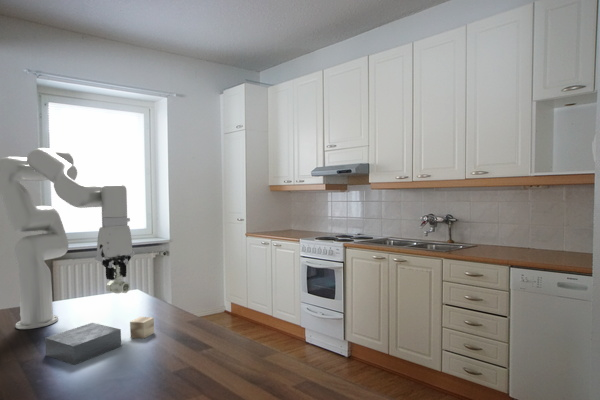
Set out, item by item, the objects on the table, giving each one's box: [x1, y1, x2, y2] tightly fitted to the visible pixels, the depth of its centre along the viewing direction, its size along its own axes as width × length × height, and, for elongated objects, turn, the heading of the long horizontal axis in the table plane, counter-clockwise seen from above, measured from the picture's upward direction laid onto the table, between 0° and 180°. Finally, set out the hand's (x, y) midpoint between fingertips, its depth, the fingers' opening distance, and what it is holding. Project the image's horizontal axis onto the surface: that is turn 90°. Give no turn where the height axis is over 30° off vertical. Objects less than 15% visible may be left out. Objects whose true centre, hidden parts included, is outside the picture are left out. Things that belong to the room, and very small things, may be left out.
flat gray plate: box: [44, 322, 122, 366], centre depth 113 cm, size 14×14×5 cm
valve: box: [105, 256, 131, 294], centre depth 128 cm, size 7×7×12 cm
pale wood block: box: [129, 316, 155, 339], centre depth 125 cm, size 5×5×5 cm
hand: (116, 277), depth 129 cm, fingers closed on valve, 3 cm apart
